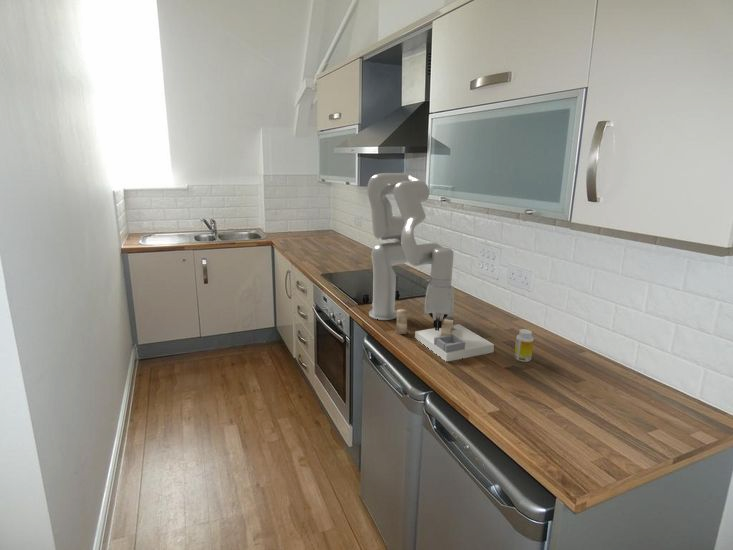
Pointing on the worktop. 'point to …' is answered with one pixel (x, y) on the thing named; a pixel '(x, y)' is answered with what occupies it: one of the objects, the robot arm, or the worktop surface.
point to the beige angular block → (447, 326)
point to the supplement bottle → (524, 346)
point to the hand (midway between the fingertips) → (437, 329)
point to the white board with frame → (454, 343)
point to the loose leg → (401, 321)
